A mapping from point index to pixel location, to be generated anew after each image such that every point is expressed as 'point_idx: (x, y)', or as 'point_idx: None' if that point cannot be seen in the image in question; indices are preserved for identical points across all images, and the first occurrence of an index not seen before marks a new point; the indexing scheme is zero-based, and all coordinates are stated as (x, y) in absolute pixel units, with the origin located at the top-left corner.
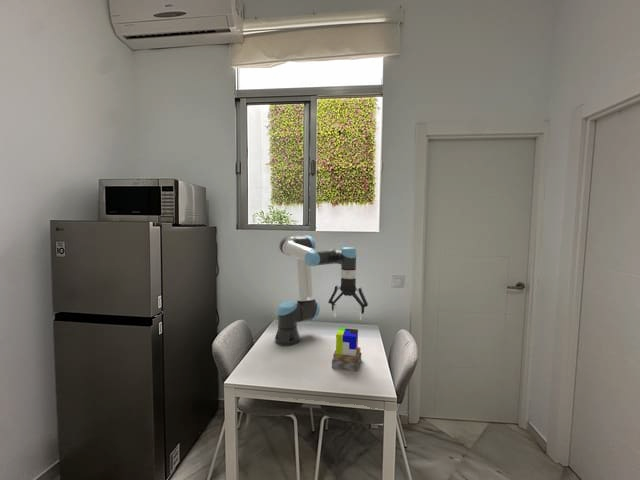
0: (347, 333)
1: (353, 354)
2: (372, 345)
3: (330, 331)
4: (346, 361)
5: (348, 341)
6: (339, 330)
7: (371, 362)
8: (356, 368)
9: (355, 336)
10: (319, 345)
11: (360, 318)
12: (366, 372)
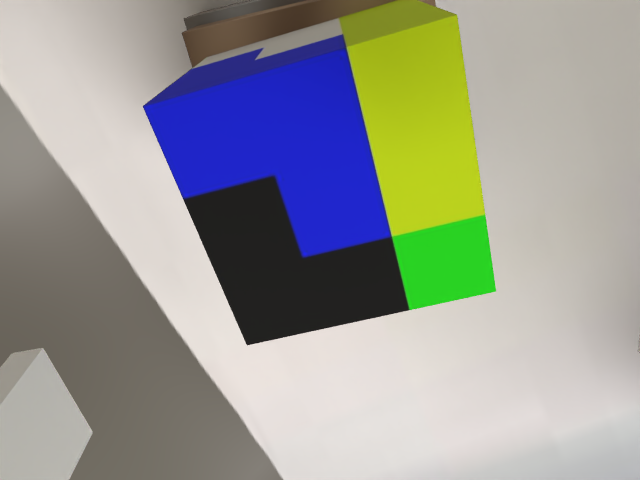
0: (311, 161)
1: (224, 52)
2: (278, 417)
3: (610, 476)
4: (290, 3)
5: (262, 59)
6: (464, 209)
7: (177, 206)
8: (202, 12)
9: (154, 112)
10: (636, 272)
11: (2, 380)
12: (134, 39)
